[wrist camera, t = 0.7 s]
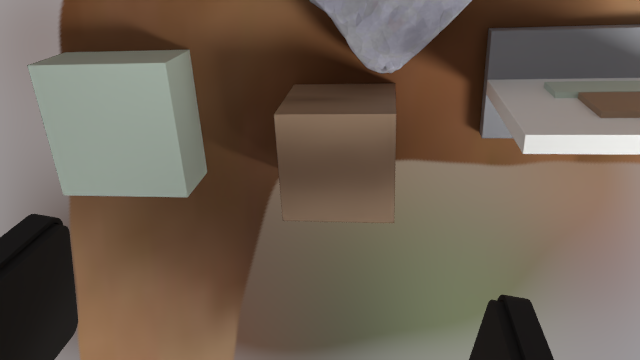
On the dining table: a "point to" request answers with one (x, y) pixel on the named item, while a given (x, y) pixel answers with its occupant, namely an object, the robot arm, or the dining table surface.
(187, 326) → the dining table surface
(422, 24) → the stone block
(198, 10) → the dining table surface
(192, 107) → the sage block
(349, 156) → the walnut block
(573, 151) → the picture card
